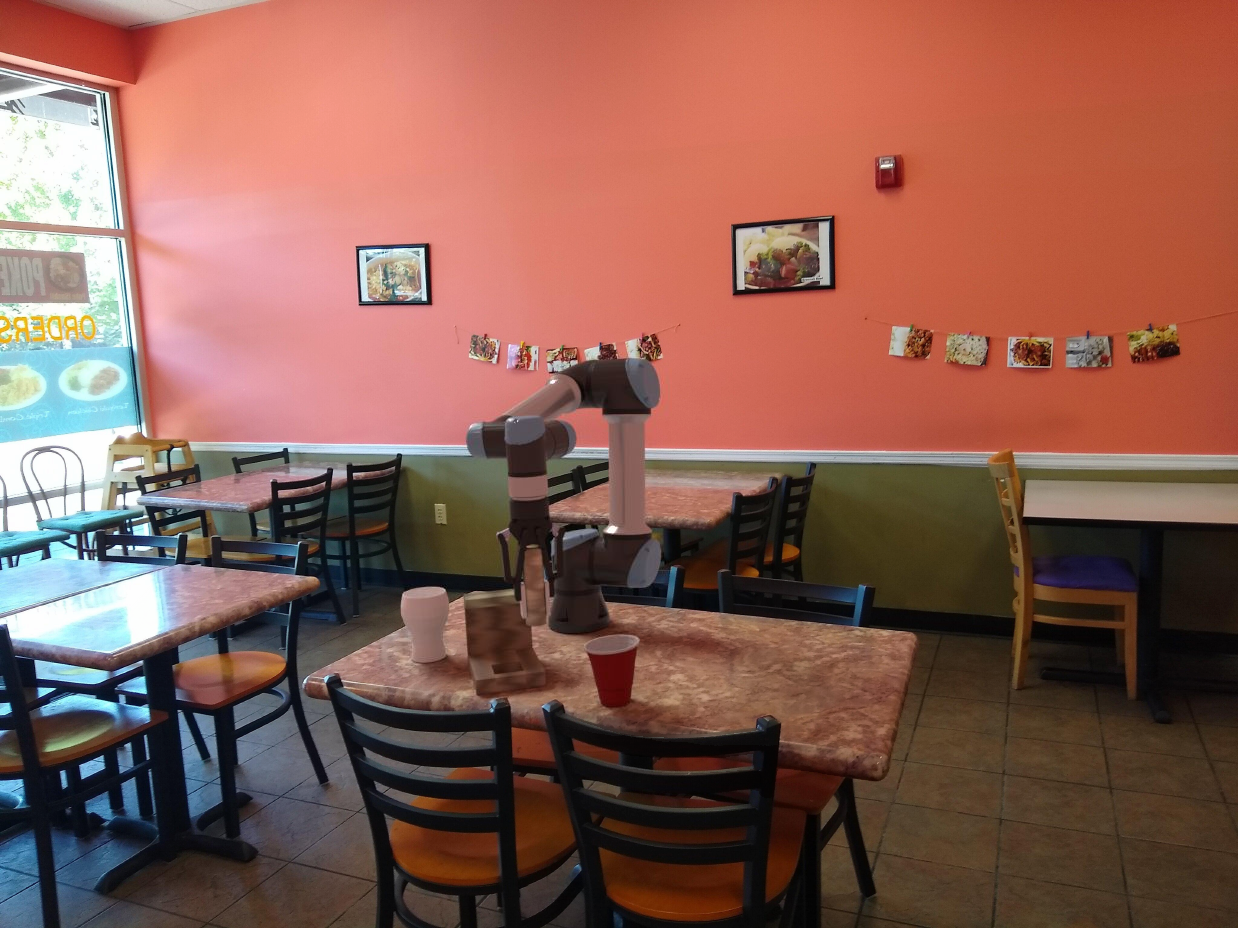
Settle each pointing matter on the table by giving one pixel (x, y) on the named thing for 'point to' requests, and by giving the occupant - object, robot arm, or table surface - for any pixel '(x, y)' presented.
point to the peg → (534, 586)
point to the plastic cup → (613, 667)
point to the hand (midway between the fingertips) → (535, 614)
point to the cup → (426, 622)
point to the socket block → (500, 644)
